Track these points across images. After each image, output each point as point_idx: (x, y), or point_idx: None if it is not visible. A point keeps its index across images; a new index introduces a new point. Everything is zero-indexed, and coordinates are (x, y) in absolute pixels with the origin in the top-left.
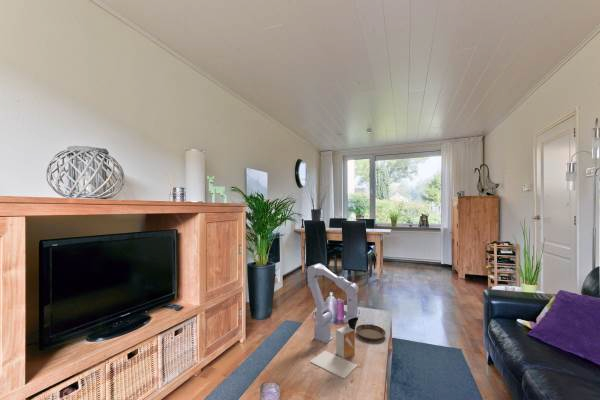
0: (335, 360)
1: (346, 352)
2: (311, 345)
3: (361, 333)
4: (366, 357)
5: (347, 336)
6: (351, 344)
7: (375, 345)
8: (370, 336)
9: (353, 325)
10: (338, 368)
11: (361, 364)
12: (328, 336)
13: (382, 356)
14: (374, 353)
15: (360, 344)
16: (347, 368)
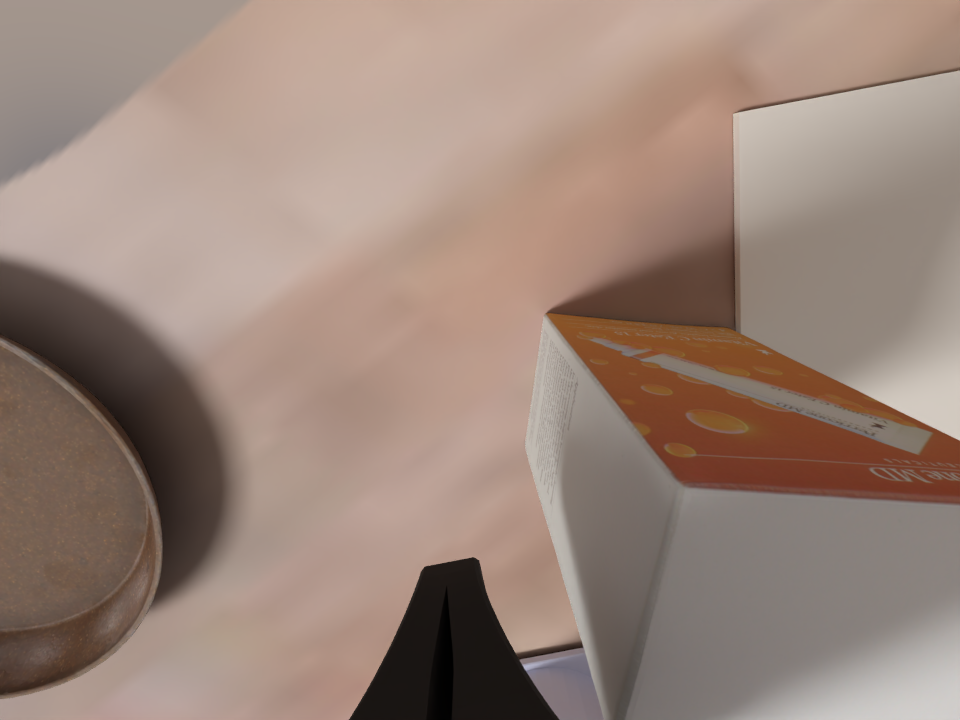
0: (831, 362)
1: (720, 343)
2: None
3: (74, 574)
4: (478, 161)
5: (898, 449)
6: (660, 362)
7: (116, 274)
8: (6, 462)
9: (528, 678)
10: (951, 230)
11: (670, 98)
12: (559, 708)
13: (257, 3)
14: (299, 147)
15: (290, 417)
16: (888, 154)
